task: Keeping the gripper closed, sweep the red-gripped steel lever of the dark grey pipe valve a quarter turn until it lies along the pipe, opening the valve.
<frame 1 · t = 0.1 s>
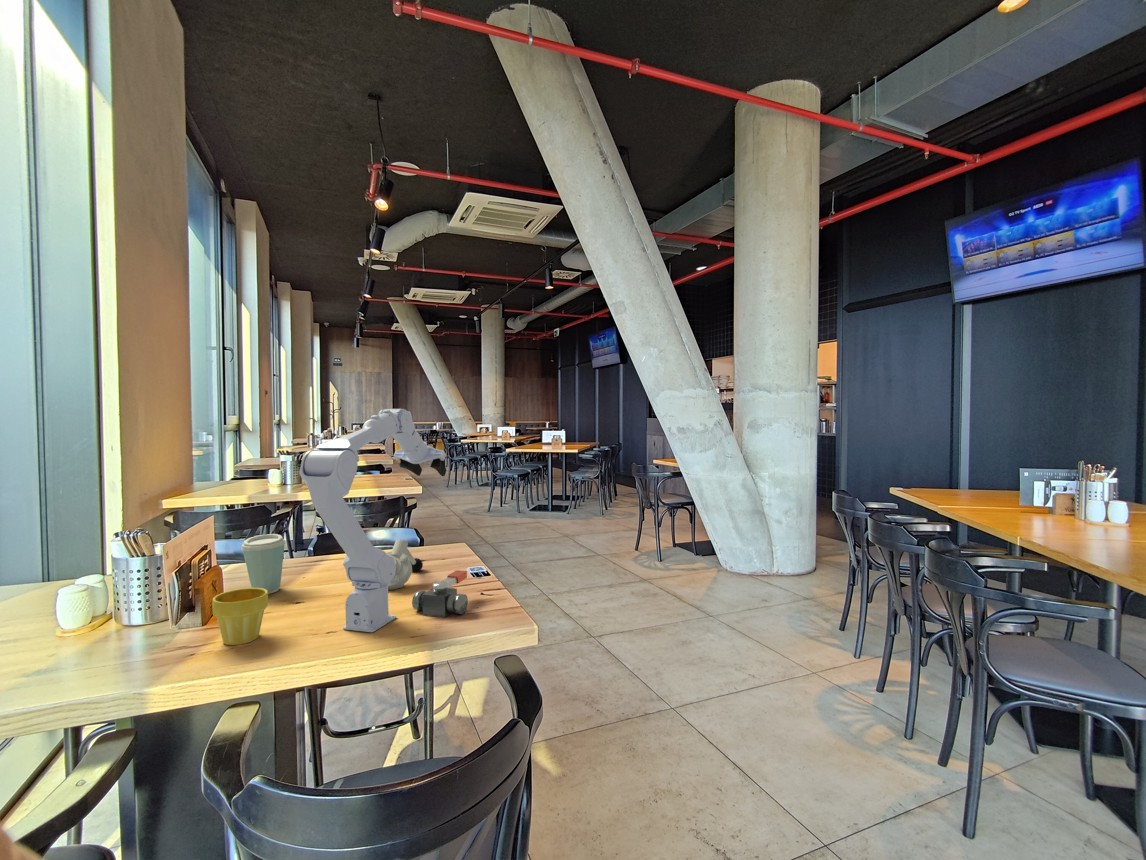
hand: (432, 473, 152), 32 cm above the table, fingers open, 7 cm apart
pipe valve: (440, 611, 133), on the table
disposable coffee cup: (264, 592, 150), on the table
valve lever: (449, 581, 138), point 6 cm above the table, hinge at 0.0°
valve: (401, 581, 159), on the table
plant pot: (242, 639, 118), on the table
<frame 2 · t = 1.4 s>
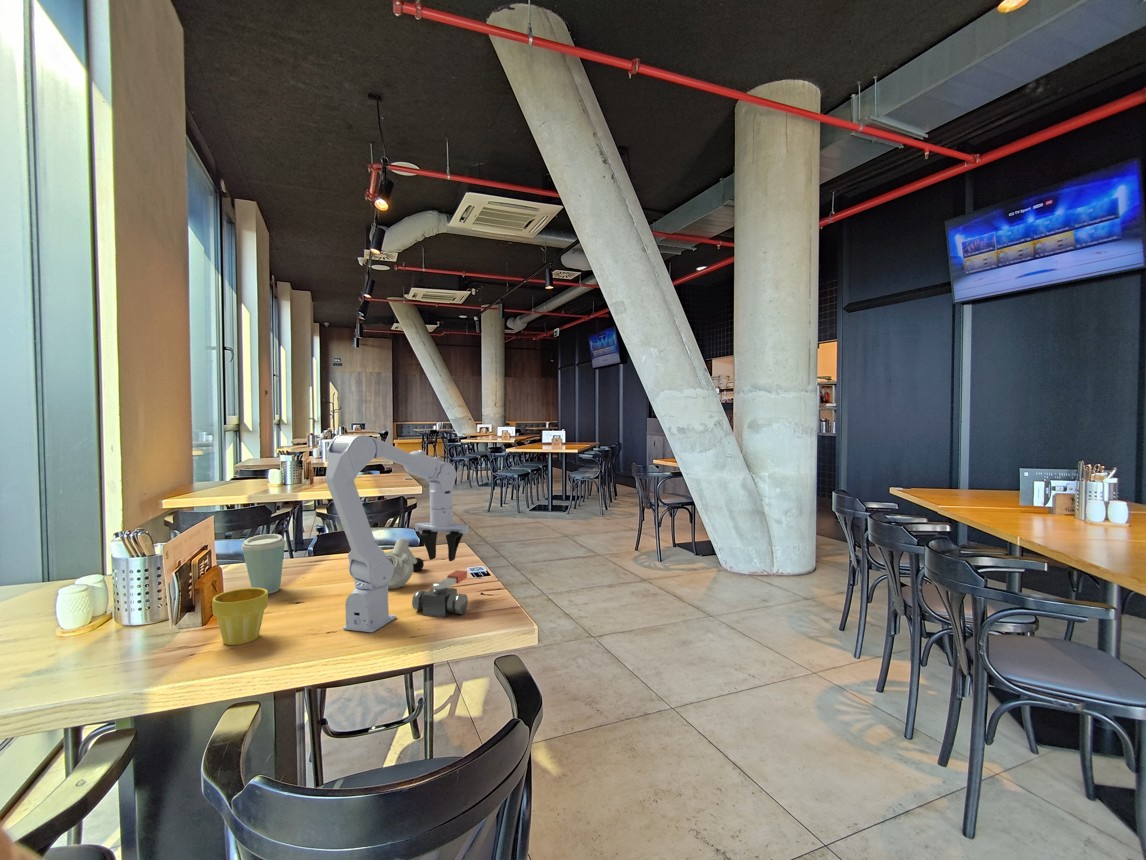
hand: (442, 559, 142), 10 cm above the table, fingers open, 5 cm apart
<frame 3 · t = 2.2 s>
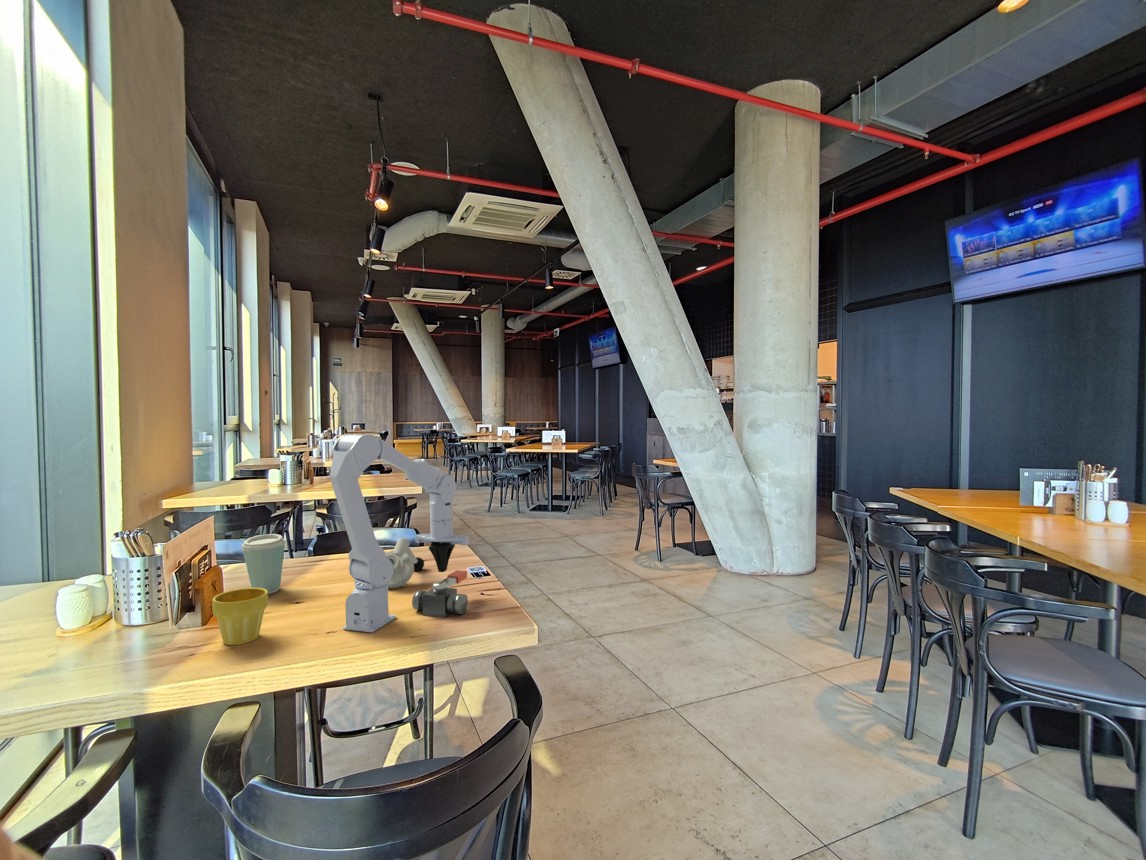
hand: (442, 571, 142), 7 cm above the table, fingers closed
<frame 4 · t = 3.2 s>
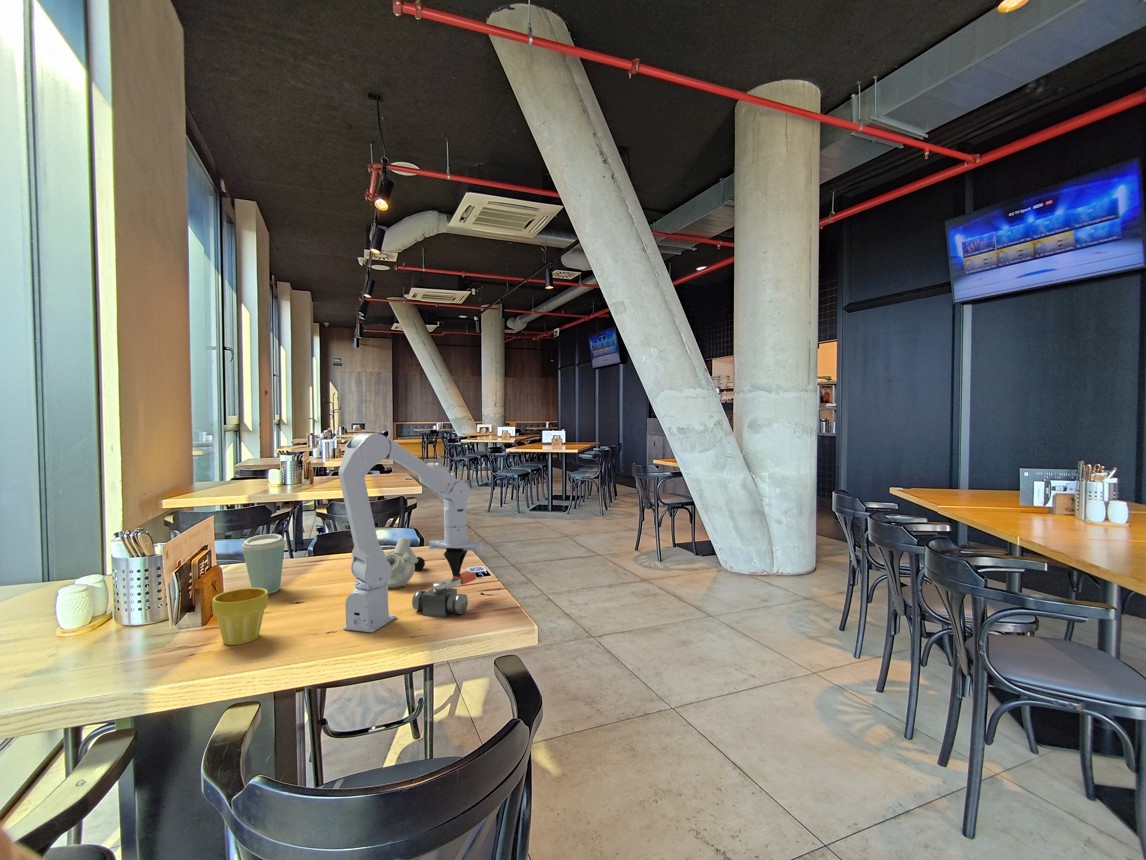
hand: (456, 577, 141), 6 cm above the table, fingers closed, pressing on valve lever
valve lever: (453, 581, 137), point 6 cm above the table, hinge at -15.0°, touching gripper
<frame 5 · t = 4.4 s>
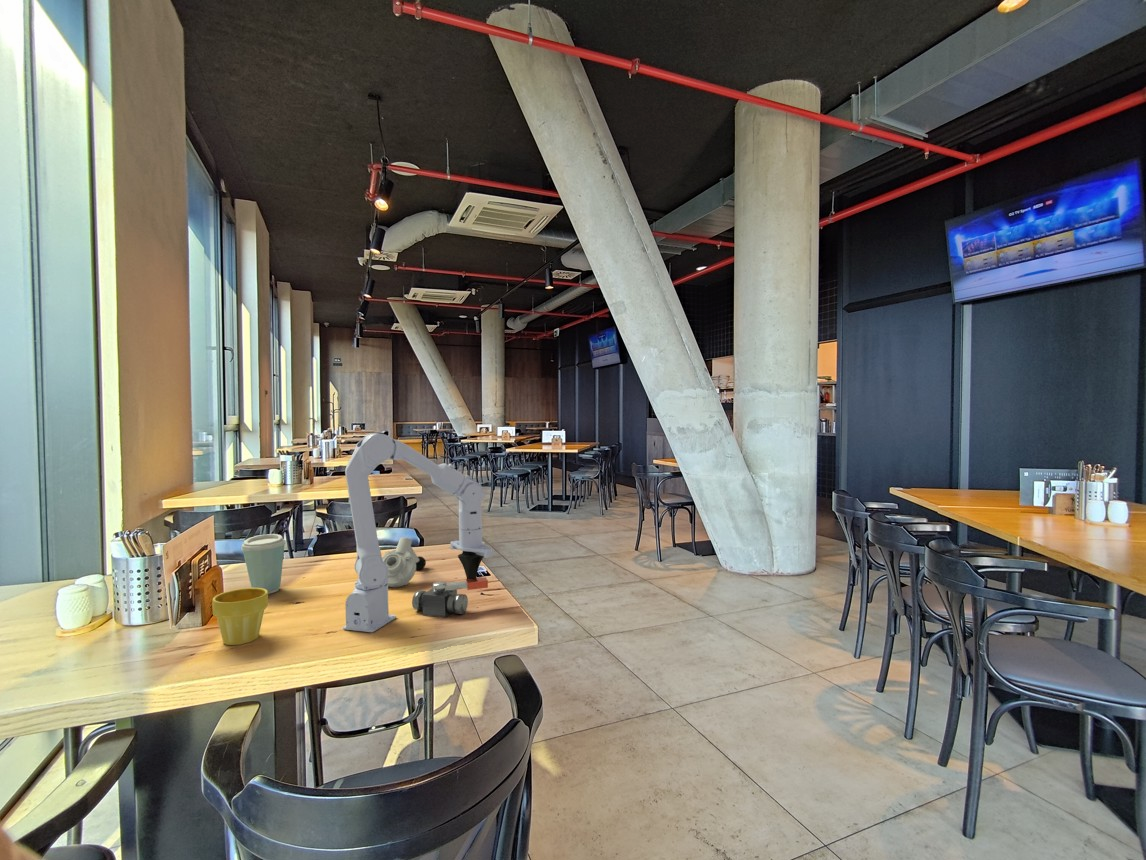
hand: (471, 581, 138), 6 cm above the table, fingers closed, pressing on valve lever
valve lever: (460, 585, 134), point 6 cm above the table, hinge at -55.9°, touching gripper
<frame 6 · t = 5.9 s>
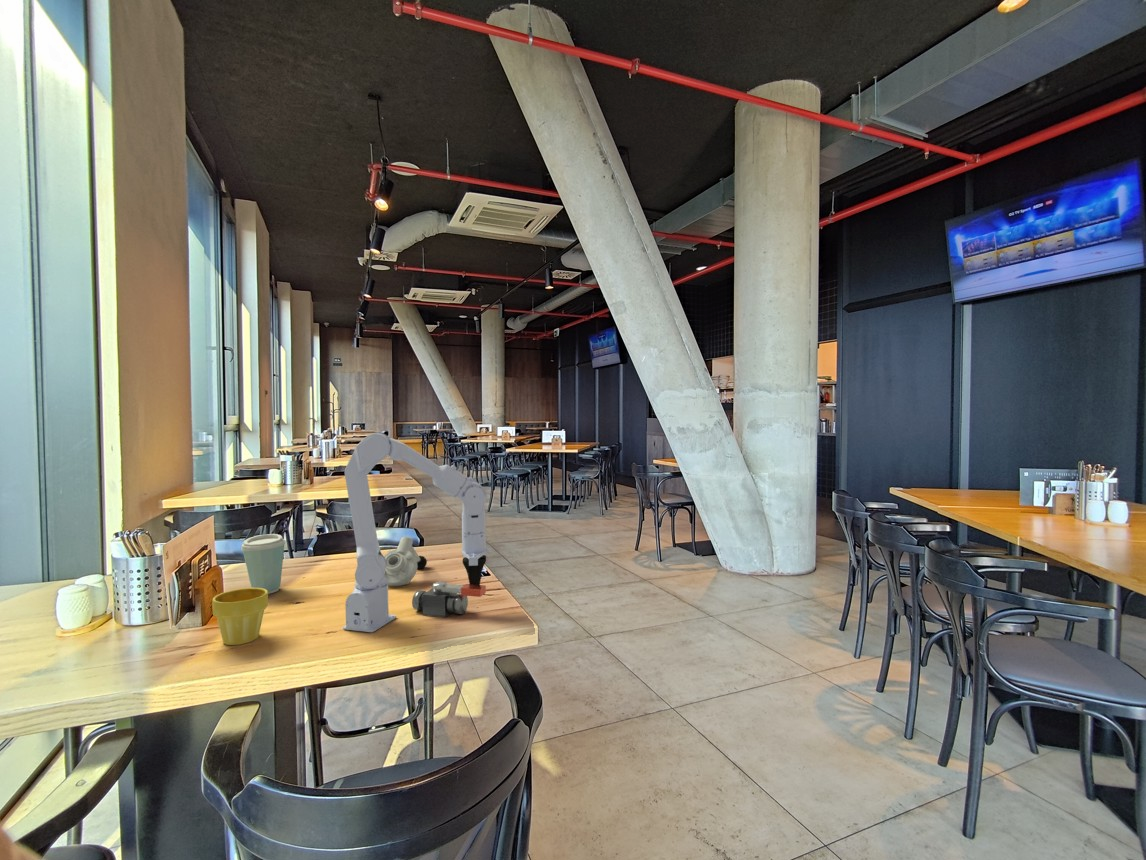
hand: (474, 587, 133), 6 cm above the table, fingers closed
valve lever: (458, 588, 132), point 6 cm above the table, hinge at -90.0°, touching gripper
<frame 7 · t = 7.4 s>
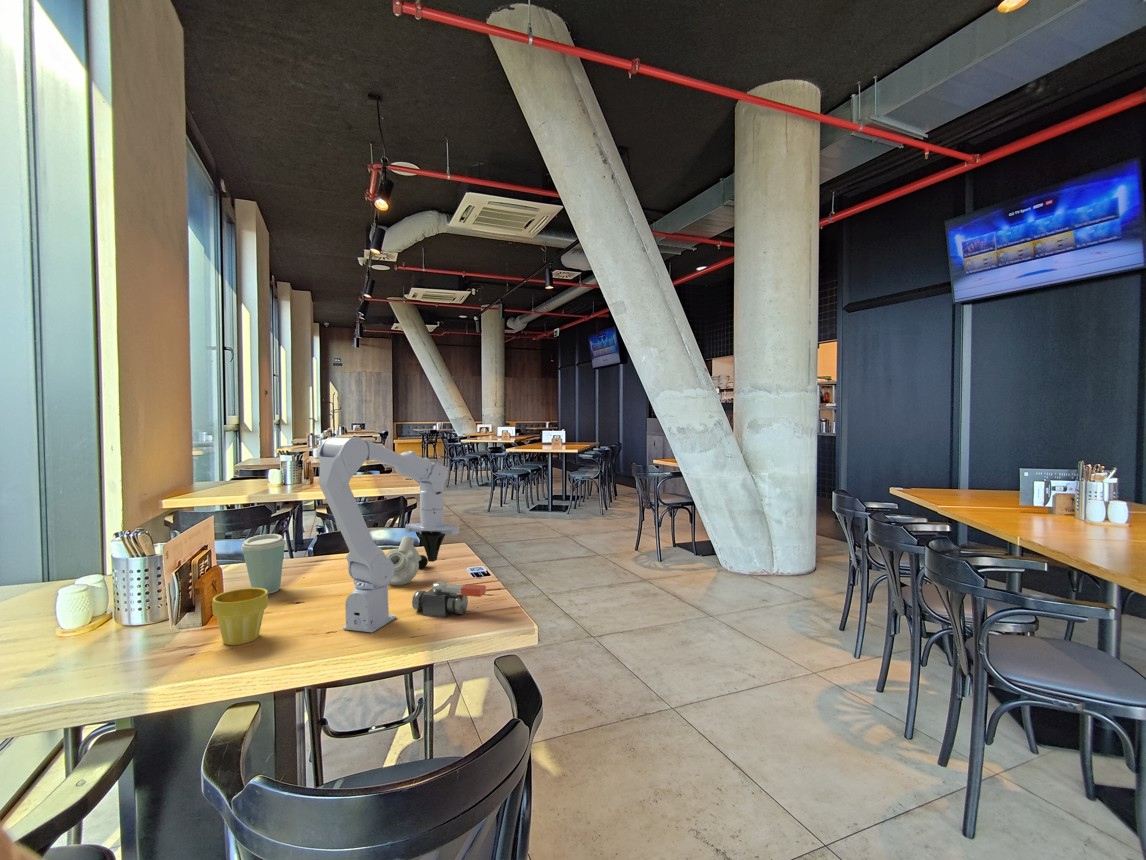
hand: (432, 560, 141), 10 cm above the table, fingers closed
valve lever: (458, 588, 132), point 6 cm above the table, hinge at -90.0°
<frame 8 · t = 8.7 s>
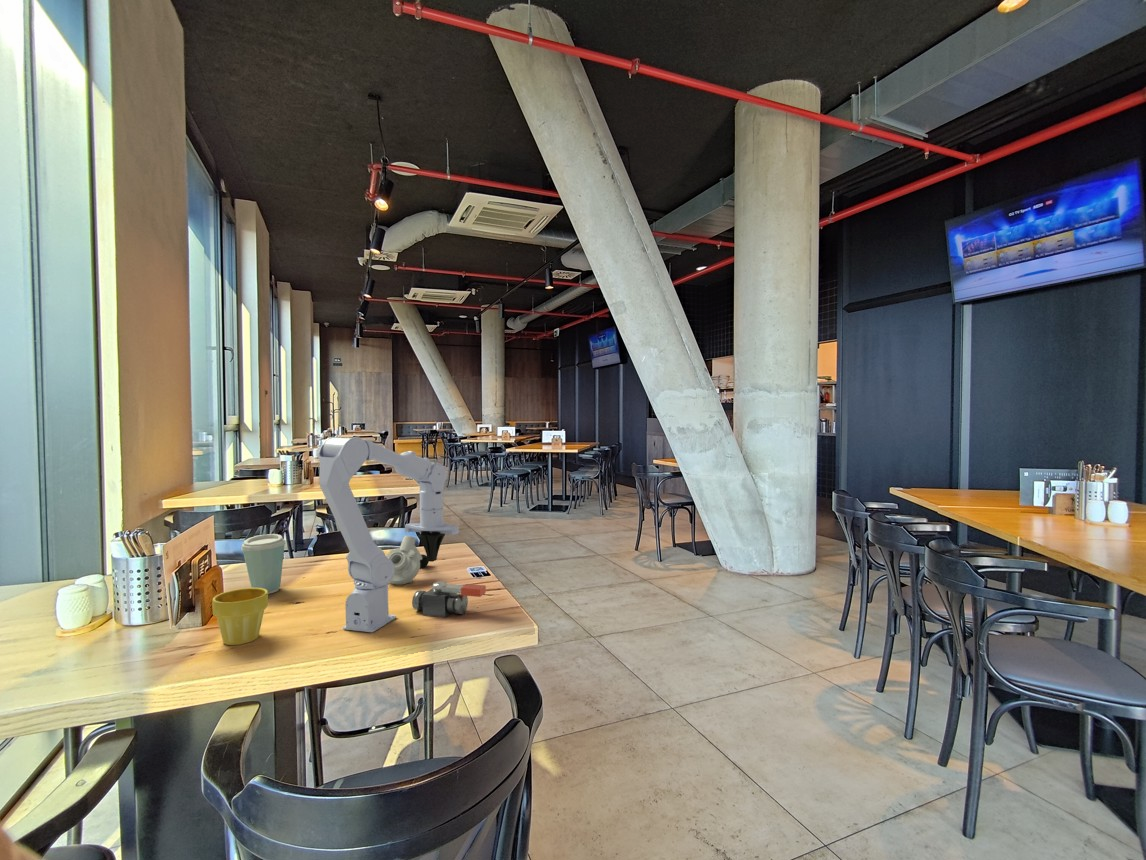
hand: (432, 560, 141), 10 cm above the table, fingers closed
at the end: valve lever at -90° (first picture: +0°); valve moved 4.9 cm from its start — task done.
